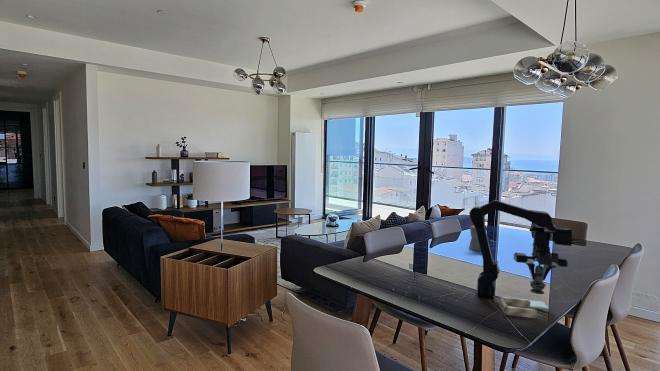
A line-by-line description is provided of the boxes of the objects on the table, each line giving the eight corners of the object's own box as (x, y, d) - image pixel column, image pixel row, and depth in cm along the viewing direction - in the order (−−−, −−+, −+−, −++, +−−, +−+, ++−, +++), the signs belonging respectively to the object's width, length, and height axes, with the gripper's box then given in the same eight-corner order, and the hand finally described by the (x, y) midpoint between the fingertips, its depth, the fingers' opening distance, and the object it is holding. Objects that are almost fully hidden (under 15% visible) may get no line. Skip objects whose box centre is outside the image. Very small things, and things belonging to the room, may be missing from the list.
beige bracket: (504, 314, 144) (504, 306, 144) (498, 303, 155) (498, 296, 155) (536, 318, 142) (537, 310, 141) (528, 306, 153) (528, 299, 152)
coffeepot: (475, 252, 240) (476, 224, 238) (463, 248, 248) (465, 221, 247) (491, 249, 247) (493, 223, 245) (479, 246, 255) (481, 220, 254)
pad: (529, 307, 152) (529, 306, 152) (525, 301, 159) (525, 299, 159) (548, 309, 150) (548, 308, 150) (543, 303, 157) (543, 301, 157)
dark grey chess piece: (539, 289, 157) (542, 261, 156) (548, 294, 151) (551, 265, 150) (526, 288, 157) (528, 261, 156) (534, 294, 151) (536, 265, 150)
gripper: (521, 245, 147) (518, 283, 148) (574, 249, 142) (571, 289, 144) (514, 239, 157) (511, 275, 159) (564, 243, 153) (560, 280, 154)
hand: (538, 279), depth 154 cm, fingers closed on dark grey chess piece, 3 cm apart
